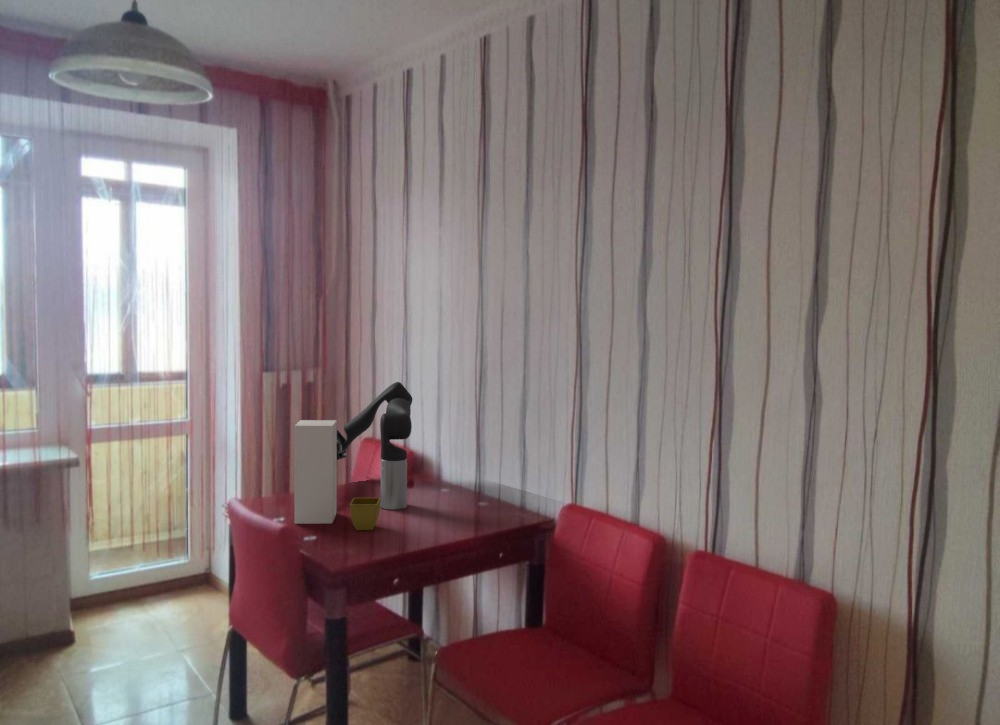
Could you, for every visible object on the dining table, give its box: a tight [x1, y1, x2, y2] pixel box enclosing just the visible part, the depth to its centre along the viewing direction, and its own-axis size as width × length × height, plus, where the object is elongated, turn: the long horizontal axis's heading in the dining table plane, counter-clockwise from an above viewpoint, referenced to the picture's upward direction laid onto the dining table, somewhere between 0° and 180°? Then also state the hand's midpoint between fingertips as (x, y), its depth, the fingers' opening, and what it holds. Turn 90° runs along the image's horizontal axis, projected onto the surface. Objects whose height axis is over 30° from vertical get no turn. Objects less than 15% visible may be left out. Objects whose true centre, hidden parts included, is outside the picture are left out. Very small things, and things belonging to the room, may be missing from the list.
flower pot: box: [349, 497, 381, 531], centre depth 239 cm, size 9×9×9 cm
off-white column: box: [293, 419, 338, 525], centre depth 248 cm, size 12×12×32 cm
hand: (325, 458), depth 273 cm, fingers closed on walnut bar, 2 cm apart
